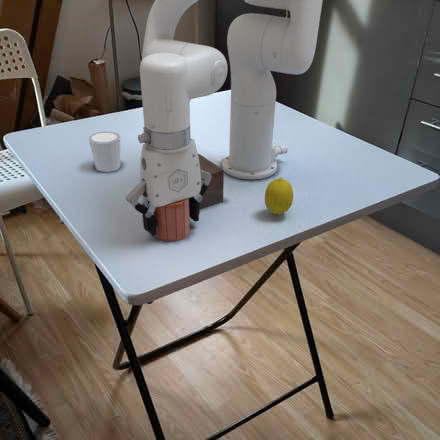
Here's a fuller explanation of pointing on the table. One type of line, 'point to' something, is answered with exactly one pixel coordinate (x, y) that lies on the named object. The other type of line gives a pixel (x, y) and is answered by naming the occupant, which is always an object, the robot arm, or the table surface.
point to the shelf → (212, 183)
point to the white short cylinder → (105, 150)
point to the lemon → (279, 196)
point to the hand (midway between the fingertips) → (172, 225)
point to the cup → (172, 221)
